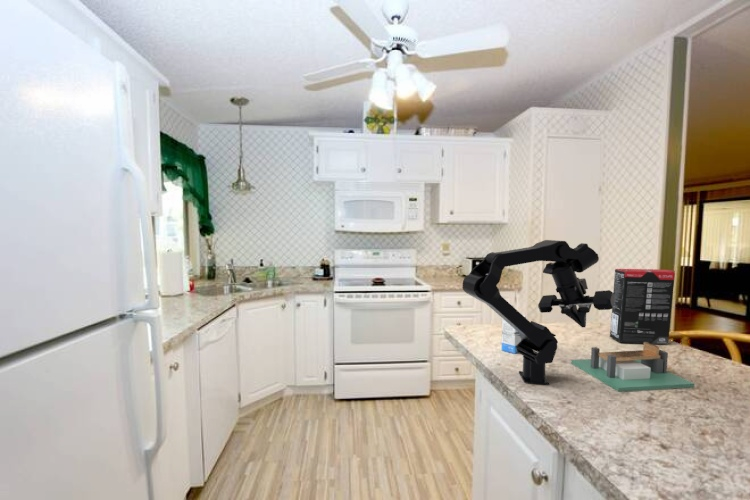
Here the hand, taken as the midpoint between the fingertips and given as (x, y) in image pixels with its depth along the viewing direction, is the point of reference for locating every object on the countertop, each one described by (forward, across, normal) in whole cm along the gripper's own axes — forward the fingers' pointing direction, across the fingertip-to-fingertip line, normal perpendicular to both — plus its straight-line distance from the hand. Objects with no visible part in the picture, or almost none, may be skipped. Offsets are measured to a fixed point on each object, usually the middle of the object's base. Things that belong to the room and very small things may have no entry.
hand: (584, 326), depth 97 cm
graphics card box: (+32, -3, -35) cm, 47 cm away
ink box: (+9, +25, 0) cm, 27 cm away
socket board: (+18, -6, -2) cm, 19 cm away
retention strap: (+13, -7, -3) cm, 15 cm away
